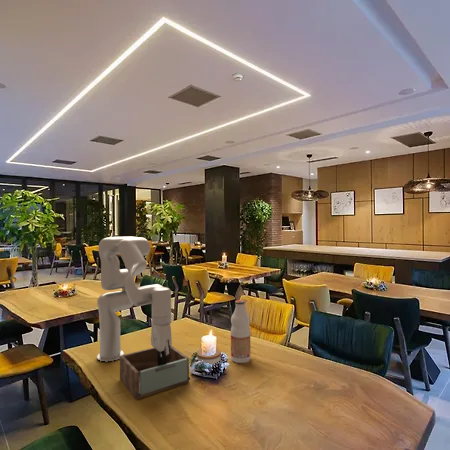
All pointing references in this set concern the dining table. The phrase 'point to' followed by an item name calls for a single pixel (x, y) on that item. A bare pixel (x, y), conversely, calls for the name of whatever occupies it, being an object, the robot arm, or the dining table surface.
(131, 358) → the crate
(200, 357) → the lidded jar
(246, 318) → the fruit juice
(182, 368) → the panel
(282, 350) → the dining table surface
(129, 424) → the dining table surface
